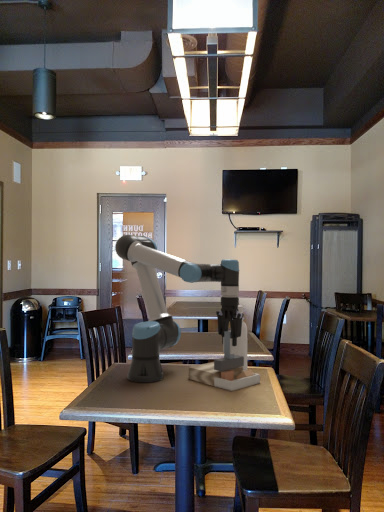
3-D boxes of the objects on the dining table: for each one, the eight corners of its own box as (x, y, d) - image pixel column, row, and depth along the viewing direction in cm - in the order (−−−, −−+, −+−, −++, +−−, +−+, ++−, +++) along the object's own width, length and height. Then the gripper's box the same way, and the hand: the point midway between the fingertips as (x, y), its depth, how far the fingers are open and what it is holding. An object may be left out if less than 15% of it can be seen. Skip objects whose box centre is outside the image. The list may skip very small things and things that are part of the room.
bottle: (248, 369, 195) (248, 305, 196) (246, 373, 188) (247, 306, 189) (231, 368, 197) (231, 304, 198) (228, 372, 190) (229, 306, 191)
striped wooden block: (188, 378, 178) (188, 367, 178) (217, 372, 190) (217, 361, 190) (214, 386, 167) (214, 373, 167) (243, 378, 179) (243, 366, 179)
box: (214, 386, 167) (214, 377, 167) (243, 378, 179) (243, 370, 179) (231, 391, 160) (231, 382, 160) (259, 382, 173) (260, 374, 173)
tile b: (243, 371, 169) (246, 376, 168) (251, 369, 172) (254, 374, 171) (236, 377, 172) (239, 382, 170) (243, 375, 175) (246, 380, 174)
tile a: (220, 371, 168) (225, 372, 166) (228, 369, 172) (233, 370, 170) (220, 384, 168) (225, 385, 166) (228, 381, 172) (233, 383, 170)
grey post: (214, 369, 170) (214, 332, 170) (236, 364, 179) (236, 329, 180) (221, 371, 167) (221, 333, 167) (243, 366, 176) (243, 330, 177)
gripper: (209, 295, 177) (209, 351, 177) (238, 297, 166) (238, 357, 165) (221, 295, 182) (221, 349, 182) (250, 297, 171) (250, 354, 170)
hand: (229, 353), depth 173 cm, fingers closed on grey post, 3 cm apart
